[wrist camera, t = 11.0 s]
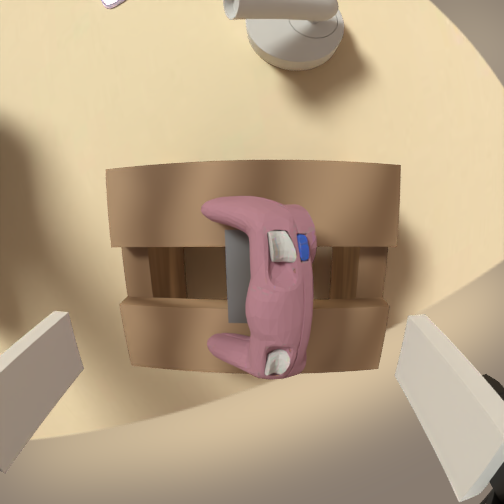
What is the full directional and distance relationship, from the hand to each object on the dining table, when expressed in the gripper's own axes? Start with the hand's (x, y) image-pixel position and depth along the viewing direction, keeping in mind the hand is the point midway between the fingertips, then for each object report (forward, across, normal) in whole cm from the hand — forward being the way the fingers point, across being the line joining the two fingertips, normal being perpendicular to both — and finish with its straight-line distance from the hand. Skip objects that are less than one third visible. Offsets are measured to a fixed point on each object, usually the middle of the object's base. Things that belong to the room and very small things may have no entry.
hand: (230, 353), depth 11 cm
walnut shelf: (+19, +1, 0) cm, 19 cm away
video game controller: (+9, +1, 0) cm, 9 cm away
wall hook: (+19, +4, +20) cm, 28 cm away
